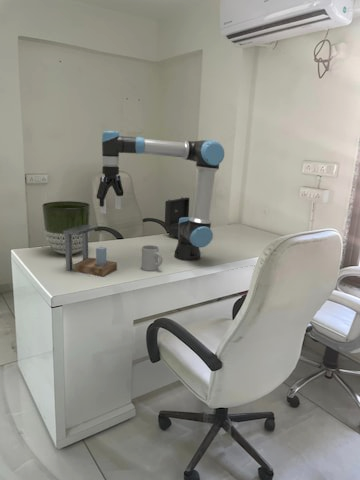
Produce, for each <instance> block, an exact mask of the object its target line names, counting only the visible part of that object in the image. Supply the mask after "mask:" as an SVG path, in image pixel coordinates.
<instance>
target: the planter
mask: <svg viewBox="0 0 360 480" xmlns="http://www.w3.org/2000/svg"><path fill="white" fill-rule="evenodd" d="M41 207H42V216H43V218H42V219H43V226H44V235H45V238H46V242H47V244H48V246H49V247H50V248H51V249H52V250H53V251H54V252H56V253H58V254H61V255H66V246H65V233H63V231H64V230H67V229H70V228H74V227H77V226H80V225H84V224H85V225H91V223H90V222H91V221H90V219H91V204H90V203H88V202H84V201H74V200H72V201H70V200H68V201H67V200H66V201H65V200H64V201H63V200H61V201H60V200H58V201H50V202H49V201H48V202H45V203H43V204H42V206H41ZM89 235H90V231H89V232H88V238H89ZM71 237H72V255H74V254H77V253H79V252H80V251H83V250H82V234H80V235H72V234H71Z"/></svg>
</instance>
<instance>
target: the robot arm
mask: <svg viewBox="0 0 360 480" xmlns="http://www.w3.org/2000/svg"><path fill="white" fill-rule="evenodd" d="M101 139H102V140H101V148H102V149H101V151H102V152H101V153H102V158H101V160H102V165H103V166H102V169H101V171H102V175H104V176H100V179H99V186H98V189H97V194H96V199H98V200H99V214H104V215H106V214H107V199H106V197H107V193H108V191H109V189H110V188H111V187H112V188H113V191H114V193H115V197H114V202H115V205H114V206H115V207H114V208H115V210H121V209H122V197H123V196H124V188H123V184H122V181H121V175H119V174H120V167H119V166H120V154H136V155H139V154H140V155H141V154H142V155H152V156H153V155H154V156H162V157H173V158H182V159H183V160H184V161H185V160H186V161H192V162H195V168H196V169H197V179H196V186H195V187H196V188H195V193H194V194H195V195H194V202H193V208H192V209H193V210H192V215H191V217H182V218H180V219H179V223H178V224H179V229H178V237H177V245H176V248H175V251H174V252H173V254H174V258H176V259H177V260H180V261H185V260H186V261H187V262H191V261H192V262H193V260H194V261H199V260H200V259H201V258H202V254H201V252H202V251H201V249H200V248H205V247H207V246H208V245H210V244H211V242H212V240H213V237H214V236H213V235H214V233H213V231H212V229H211V227H212V221H211V220H210V213H211V212H210V211H211V204H212V197H213V191H214V183H215V175H216V172H217V171H219V169H220V164H221V163H222V162H223V161H224V158H225V148H224V147H223V146H222V144H221V143H220V142H218V141H216V140H212V139H211V140H209V139H208V140H194V141H193V140H192V141H191V140H185V141H184V142H183V141H182V142H179V141H172V140H171V141H170V140H163V139H161V140H159V139H151V138H150V139H149V138H144V137H143V136H142V137H141V136H122V135H120V132H119V131H116V130H104V131H103V132H102V138H101ZM186 261H185V262H186Z"/></svg>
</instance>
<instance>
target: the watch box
mask: <svg viewBox="0 0 360 480" xmlns="http://www.w3.org/2000/svg"><path fill="white" fill-rule="evenodd" d="M164 206H165V209H164V212H165V213H164V227H165V228H168V236H171V237H177V238H178V229H179V224H178V223H179V219H180V218H182V217H189V216H190V215H189V214H190V197H187V196H186V197H184V196H181V197H180V198H175V199H168V200H166V201H165V204H164ZM213 237H214V234H213Z"/></svg>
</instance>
